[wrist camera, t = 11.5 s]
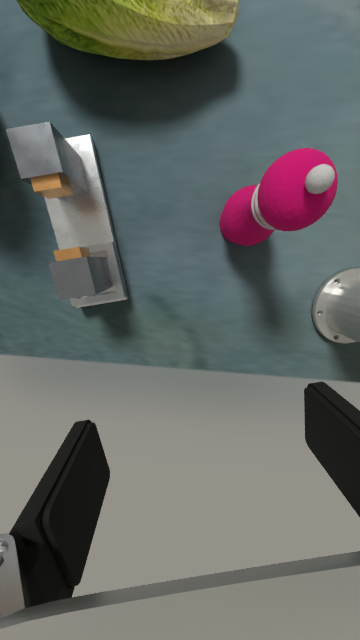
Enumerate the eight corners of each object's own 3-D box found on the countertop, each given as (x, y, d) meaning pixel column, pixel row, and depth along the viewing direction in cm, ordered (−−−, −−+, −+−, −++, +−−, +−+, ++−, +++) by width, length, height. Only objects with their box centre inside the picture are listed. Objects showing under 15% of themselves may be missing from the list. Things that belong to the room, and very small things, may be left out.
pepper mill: (231, 256, 36) (302, 253, 16) (207, 215, 34) (254, 157, 15) (271, 229, 35) (397, 191, 15) (248, 185, 33) (357, 81, 14)
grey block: (112, 286, 35) (95, 294, 27) (84, 291, 35) (59, 300, 27) (104, 248, 33) (83, 245, 25) (74, 253, 33) (44, 251, 25)
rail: (93, 140, 31) (60, 90, 22) (128, 297, 37) (114, 310, 28) (35, 150, 31) (-22, 104, 22) (80, 305, 37) (49, 321, 28)
